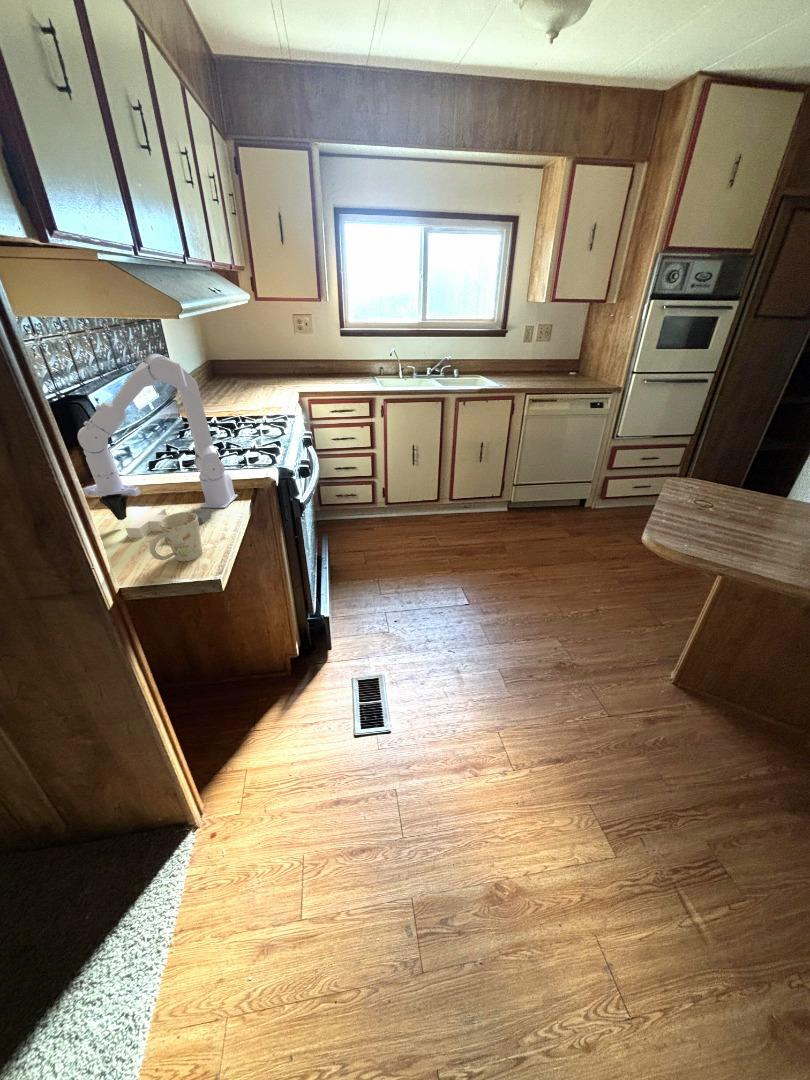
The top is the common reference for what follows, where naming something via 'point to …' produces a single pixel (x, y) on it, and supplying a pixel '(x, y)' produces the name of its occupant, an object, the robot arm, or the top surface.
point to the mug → (179, 537)
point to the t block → (146, 523)
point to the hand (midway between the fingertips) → (122, 518)
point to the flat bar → (200, 516)
